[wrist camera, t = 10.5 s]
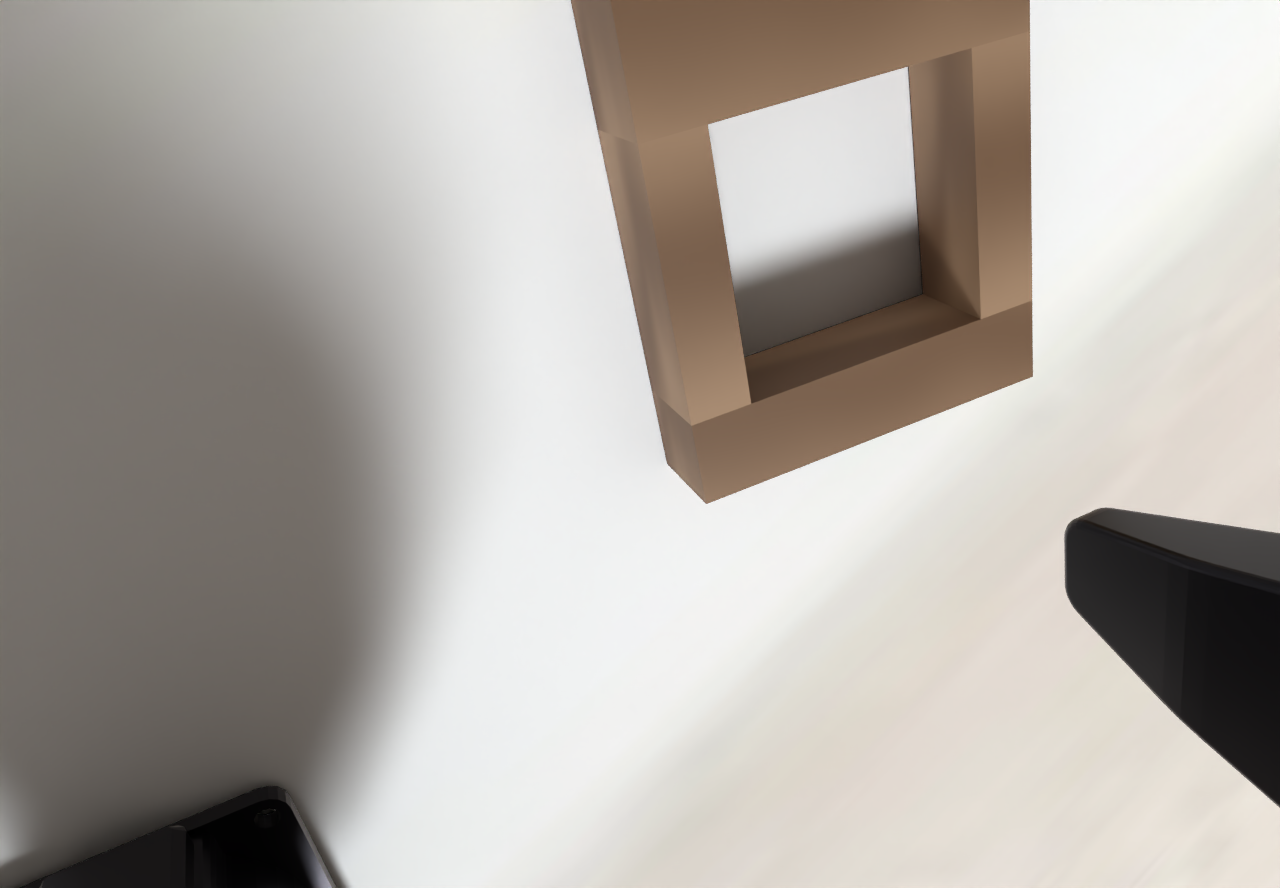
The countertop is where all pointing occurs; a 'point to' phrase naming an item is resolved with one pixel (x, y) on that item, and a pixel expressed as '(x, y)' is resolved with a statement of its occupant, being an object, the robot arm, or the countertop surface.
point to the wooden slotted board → (695, 240)
